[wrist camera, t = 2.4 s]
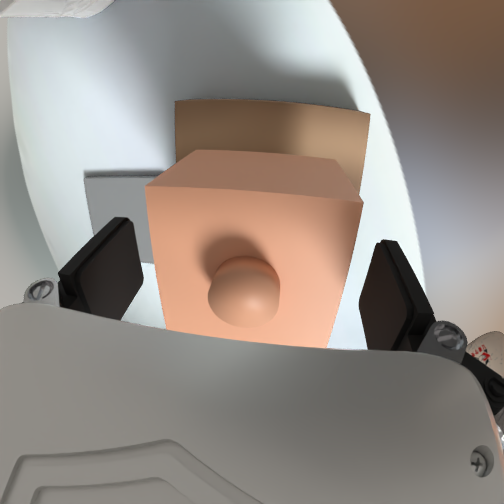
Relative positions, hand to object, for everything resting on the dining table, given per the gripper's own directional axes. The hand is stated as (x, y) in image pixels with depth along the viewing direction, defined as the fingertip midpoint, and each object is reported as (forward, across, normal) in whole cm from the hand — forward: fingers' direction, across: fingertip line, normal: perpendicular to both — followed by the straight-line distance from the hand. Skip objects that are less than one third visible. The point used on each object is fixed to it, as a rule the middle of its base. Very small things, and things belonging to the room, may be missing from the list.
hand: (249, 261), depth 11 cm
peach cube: (+5, 0, +1) cm, 5 cm away
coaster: (+12, +12, +5) cm, 18 cm away
